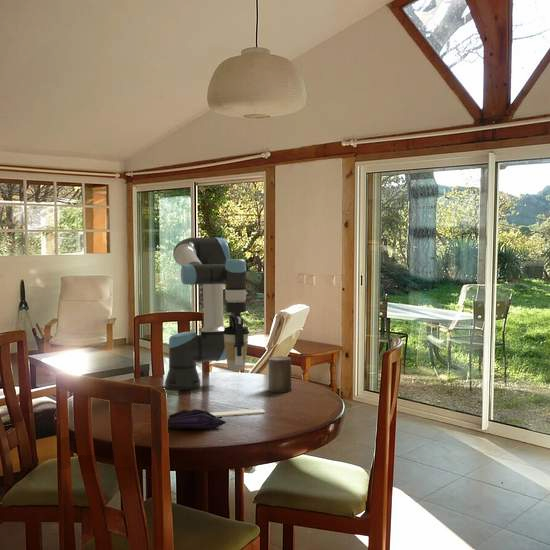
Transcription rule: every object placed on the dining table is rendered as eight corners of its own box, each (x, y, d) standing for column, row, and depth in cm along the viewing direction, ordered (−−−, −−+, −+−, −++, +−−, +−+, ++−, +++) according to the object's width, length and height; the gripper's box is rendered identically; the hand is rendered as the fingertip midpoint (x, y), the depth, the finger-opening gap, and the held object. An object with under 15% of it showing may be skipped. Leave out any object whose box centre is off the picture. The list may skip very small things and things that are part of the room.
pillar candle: (295, 390, 260) (295, 355, 259) (276, 393, 254) (276, 357, 254) (282, 386, 268) (282, 352, 268) (263, 389, 263) (263, 354, 262)
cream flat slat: (197, 415, 222) (197, 413, 222) (262, 410, 228) (262, 409, 228) (199, 418, 218) (199, 416, 218) (265, 413, 225) (265, 411, 225)
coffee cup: (253, 367, 229) (253, 326, 229) (243, 371, 220) (243, 329, 220) (229, 365, 233) (229, 326, 232) (218, 370, 223) (218, 328, 223)
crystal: (161, 414, 201) (222, 409, 201) (168, 408, 213) (226, 404, 212) (163, 436, 201) (224, 431, 201) (170, 429, 212) (227, 424, 212)
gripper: (252, 303, 216) (252, 367, 217) (239, 299, 237) (240, 357, 238) (231, 303, 214) (231, 368, 215) (220, 299, 235) (221, 358, 236)
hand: (236, 362), depth 226 cm, fingers closed on coffee cup, 9 cm apart
